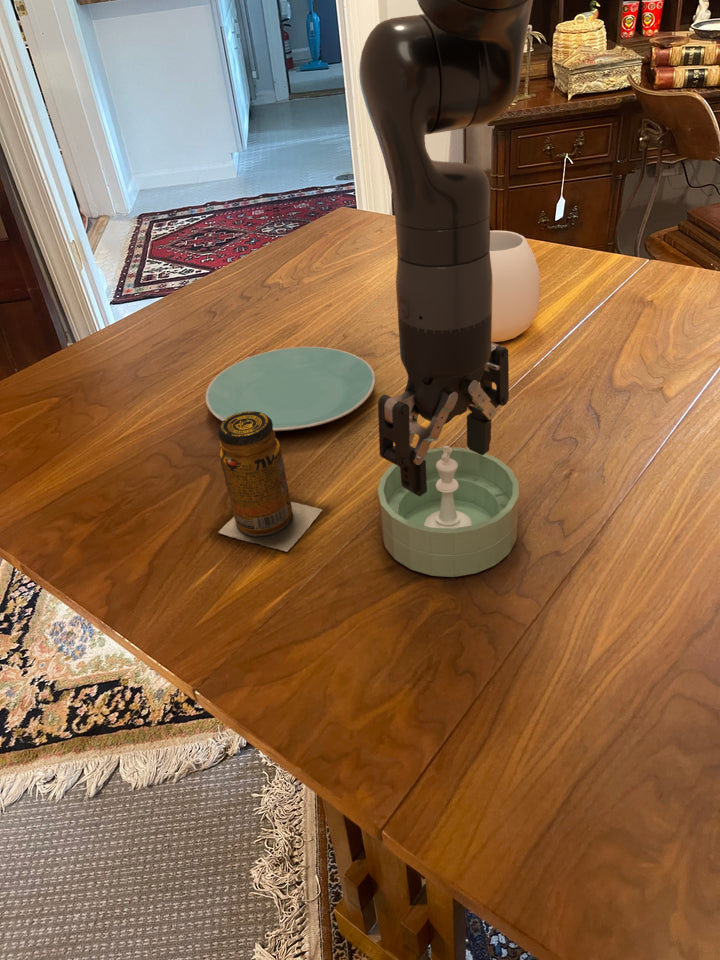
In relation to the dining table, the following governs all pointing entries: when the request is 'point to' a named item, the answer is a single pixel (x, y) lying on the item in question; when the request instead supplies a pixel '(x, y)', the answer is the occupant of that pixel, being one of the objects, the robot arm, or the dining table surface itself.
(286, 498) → the condiment
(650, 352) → the dining table surface
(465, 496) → the bowl
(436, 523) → the chess piece
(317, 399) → the plate
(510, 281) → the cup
